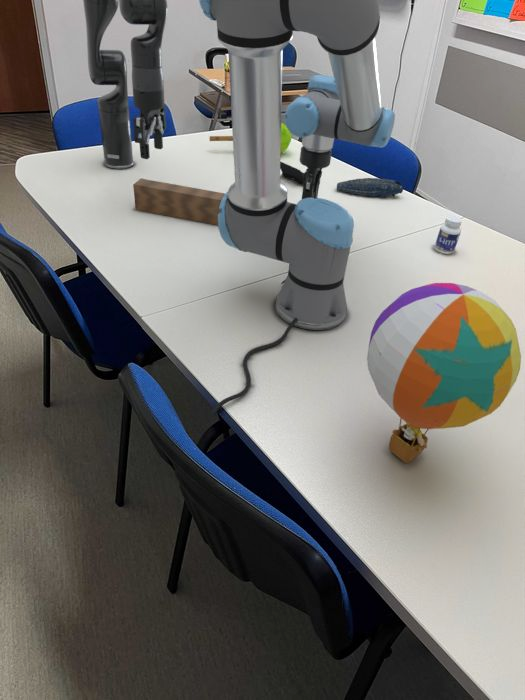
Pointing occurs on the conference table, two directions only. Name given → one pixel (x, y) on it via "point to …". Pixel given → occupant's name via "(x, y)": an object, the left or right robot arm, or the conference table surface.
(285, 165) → the handheld gaming console
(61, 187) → the conference table surface
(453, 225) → the pill bottle
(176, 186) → the post
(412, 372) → the toy
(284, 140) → the decorative tree
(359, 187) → the fish model
